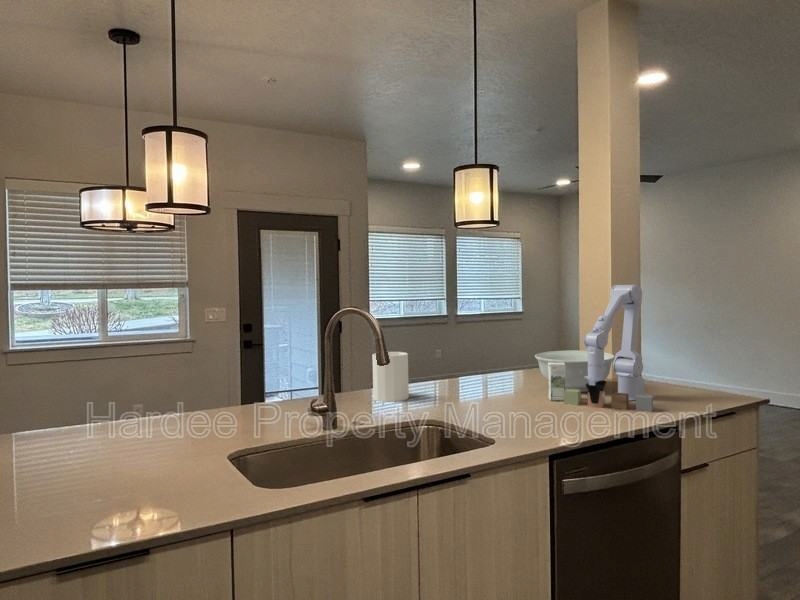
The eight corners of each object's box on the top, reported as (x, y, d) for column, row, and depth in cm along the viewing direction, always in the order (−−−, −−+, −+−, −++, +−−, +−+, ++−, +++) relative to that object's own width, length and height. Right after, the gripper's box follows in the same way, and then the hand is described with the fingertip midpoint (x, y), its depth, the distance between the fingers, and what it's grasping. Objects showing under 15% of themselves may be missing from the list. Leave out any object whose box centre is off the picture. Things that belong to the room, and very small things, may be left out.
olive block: (567, 401, 214) (567, 388, 214) (581, 402, 211) (580, 389, 211) (564, 404, 210) (564, 391, 210) (577, 405, 207) (577, 392, 207)
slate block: (638, 408, 201) (638, 394, 201) (653, 409, 199) (653, 395, 198) (636, 411, 197) (635, 396, 197) (651, 412, 194) (651, 398, 194)
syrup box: (563, 398, 220) (562, 361, 220) (566, 401, 214) (565, 363, 214) (548, 398, 221) (547, 361, 220) (550, 401, 215) (550, 363, 214)
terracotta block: (590, 403, 209) (590, 390, 209) (604, 404, 207) (604, 391, 207) (587, 406, 205) (587, 392, 205) (602, 407, 203) (602, 393, 202)
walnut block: (614, 406, 205) (613, 392, 205) (628, 407, 203) (628, 393, 203) (611, 408, 201) (611, 394, 201) (626, 410, 198) (626, 396, 198)
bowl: (544, 397, 223) (544, 360, 222) (528, 382, 255) (528, 350, 254) (626, 396, 221) (626, 359, 221) (600, 381, 254) (600, 349, 253)
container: (393, 403, 218) (392, 357, 217) (365, 399, 226) (364, 354, 226) (415, 396, 229) (414, 352, 229) (387, 393, 238) (386, 350, 237)
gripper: (589, 361, 214) (589, 397, 214) (580, 367, 201) (580, 404, 202) (608, 362, 210) (608, 398, 211) (600, 368, 198) (601, 406, 198)
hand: (596, 401), depth 206 cm, fingers closed on terracotta block, 5 cm apart
